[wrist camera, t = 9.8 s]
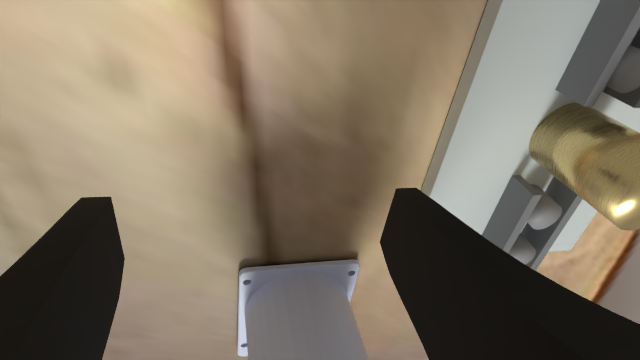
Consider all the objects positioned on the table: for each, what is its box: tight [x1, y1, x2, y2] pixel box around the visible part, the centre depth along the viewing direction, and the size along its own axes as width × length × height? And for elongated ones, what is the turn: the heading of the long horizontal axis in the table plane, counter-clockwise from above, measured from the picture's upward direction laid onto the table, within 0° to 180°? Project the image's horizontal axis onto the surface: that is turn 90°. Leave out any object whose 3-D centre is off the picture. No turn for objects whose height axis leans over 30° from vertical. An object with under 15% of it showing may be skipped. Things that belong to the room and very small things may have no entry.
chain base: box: [421, 0, 640, 271], centre depth 22 cm, size 20×14×3 cm
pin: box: [529, 102, 640, 230], centre depth 20 cm, size 4×4×6 cm
